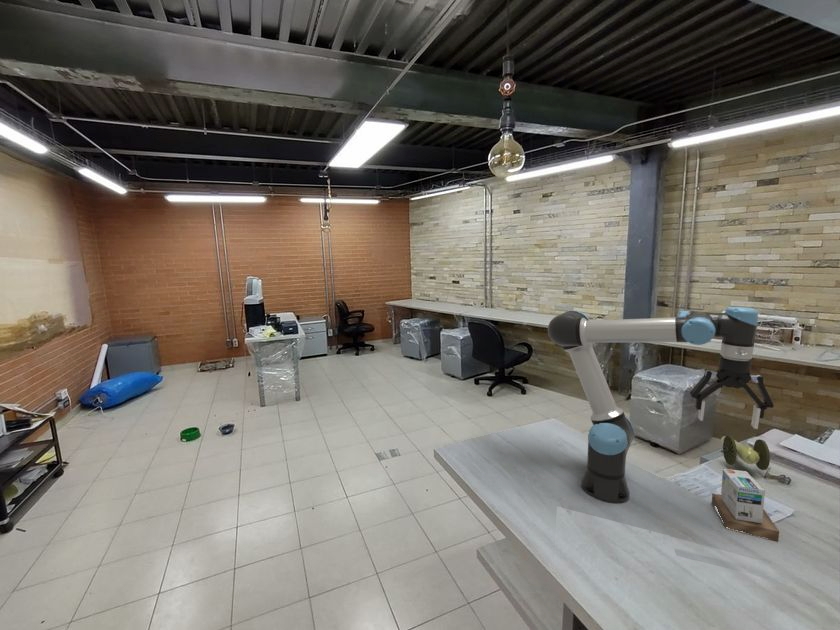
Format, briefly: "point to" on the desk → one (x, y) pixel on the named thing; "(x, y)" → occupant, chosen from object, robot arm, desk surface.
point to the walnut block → (758, 529)
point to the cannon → (746, 452)
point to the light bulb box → (742, 495)
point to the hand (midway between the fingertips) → (726, 423)
